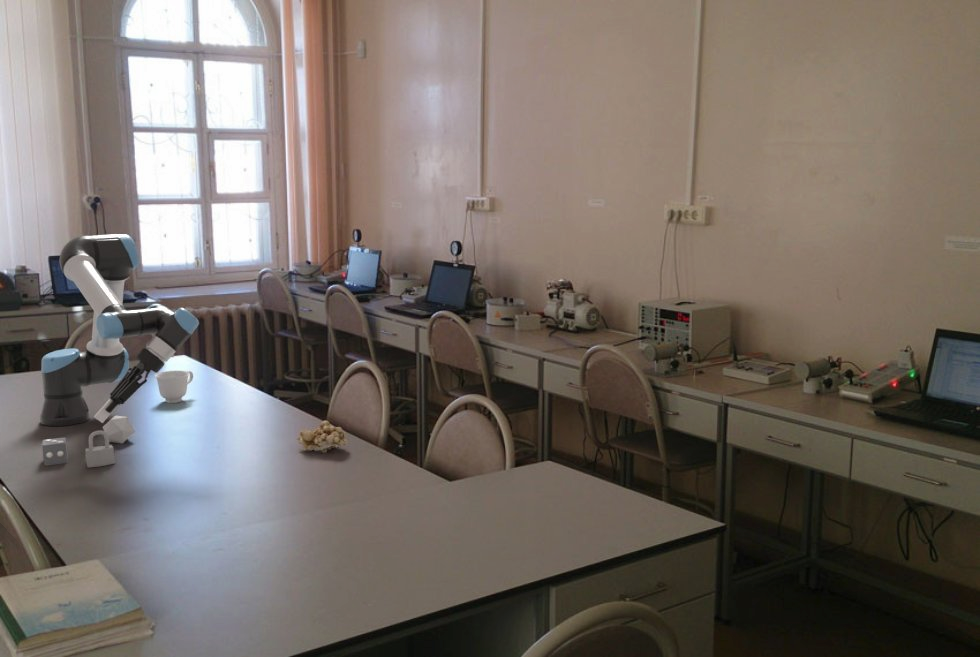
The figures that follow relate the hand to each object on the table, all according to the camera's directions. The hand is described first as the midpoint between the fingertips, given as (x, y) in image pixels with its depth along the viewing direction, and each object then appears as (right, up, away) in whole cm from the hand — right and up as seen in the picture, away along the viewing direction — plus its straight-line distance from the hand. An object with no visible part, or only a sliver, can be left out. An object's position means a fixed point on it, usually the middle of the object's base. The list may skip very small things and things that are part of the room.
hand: (98, 419), depth 257 cm
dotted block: (-14, -13, +5) cm, 20 cm away
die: (-4, -9, +24) cm, 26 cm away
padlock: (0, -13, +2) cm, 13 cm away
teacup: (-3, -1, +75) cm, 75 cm away
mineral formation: (+61, -11, +15) cm, 64 cm away
